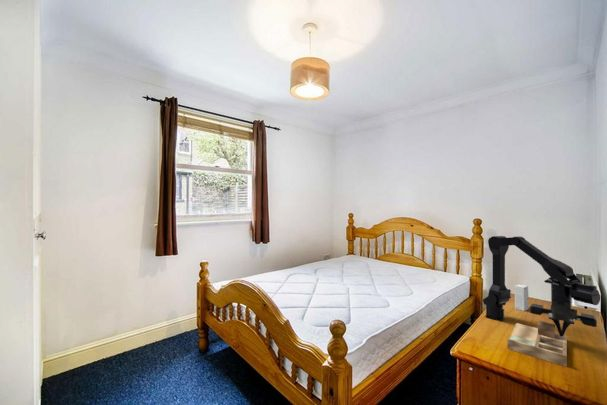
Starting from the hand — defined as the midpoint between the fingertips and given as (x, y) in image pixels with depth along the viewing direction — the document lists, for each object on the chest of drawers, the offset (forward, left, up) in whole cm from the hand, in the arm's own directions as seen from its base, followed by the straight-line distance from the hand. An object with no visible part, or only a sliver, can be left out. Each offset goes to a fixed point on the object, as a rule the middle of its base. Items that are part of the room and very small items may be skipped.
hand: (561, 336), depth 106 cm
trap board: (-7, -7, -3) cm, 10 cm away
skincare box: (-16, +35, -3) cm, 38 cm away
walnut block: (-4, 0, -1) cm, 4 cm away
